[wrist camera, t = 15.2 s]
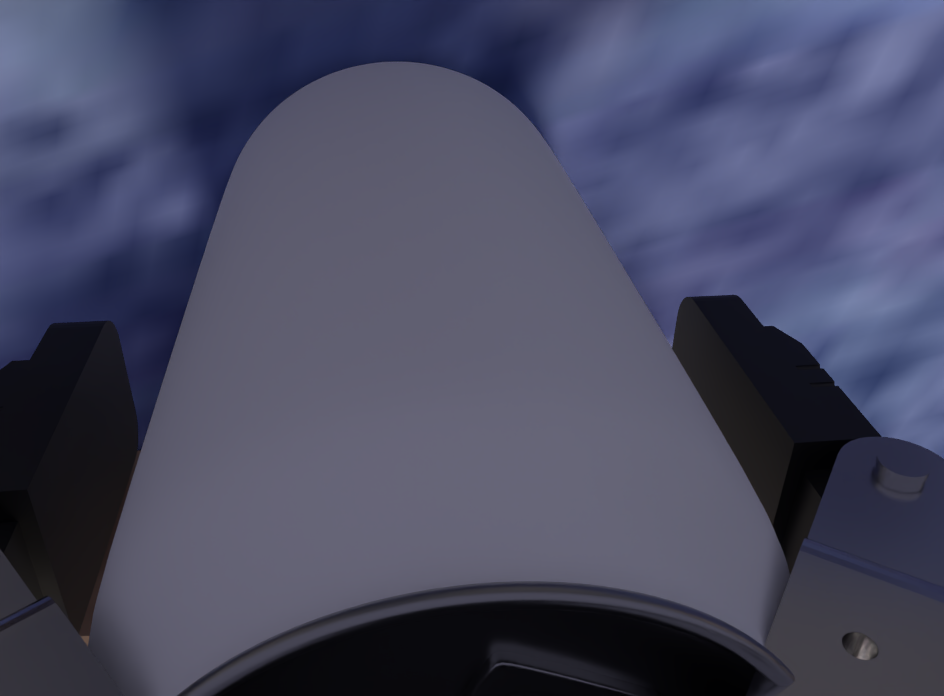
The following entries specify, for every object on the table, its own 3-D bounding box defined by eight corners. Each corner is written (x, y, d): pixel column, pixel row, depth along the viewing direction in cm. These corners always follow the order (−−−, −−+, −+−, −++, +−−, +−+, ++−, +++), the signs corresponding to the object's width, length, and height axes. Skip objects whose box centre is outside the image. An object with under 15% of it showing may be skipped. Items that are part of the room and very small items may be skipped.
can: (176, 299, 17) (-73, 1015, 7) (306, -16, 14) (210, 399, 4) (467, 407, 19) (601, 1071, 9) (627, 150, 17) (1065, 685, 6)
